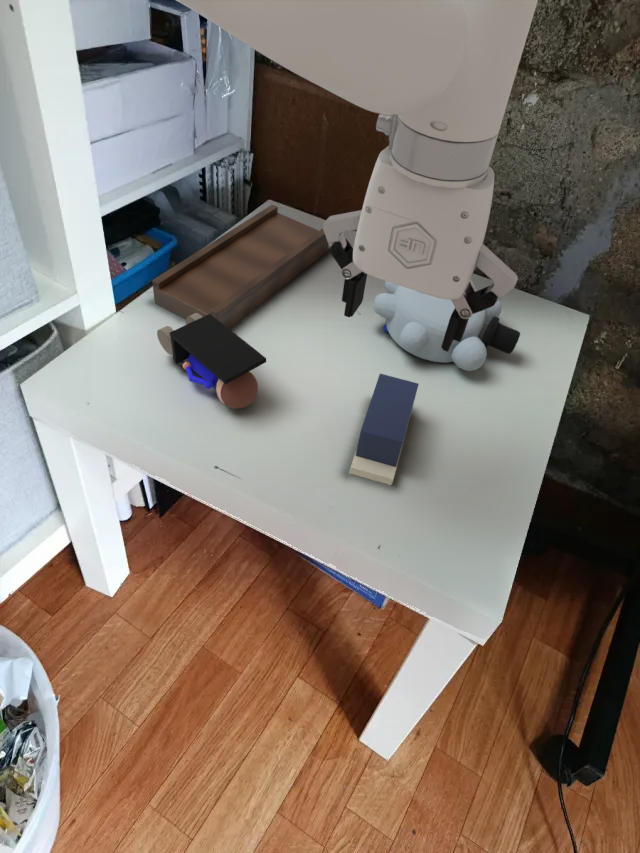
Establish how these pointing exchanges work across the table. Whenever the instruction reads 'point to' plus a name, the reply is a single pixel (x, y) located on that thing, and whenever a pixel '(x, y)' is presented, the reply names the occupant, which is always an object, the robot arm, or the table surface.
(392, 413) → the blue milk carton
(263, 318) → the table surface
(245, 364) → the figurine character
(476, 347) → the figurine
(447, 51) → the robot arm
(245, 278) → the brown wooden tray
